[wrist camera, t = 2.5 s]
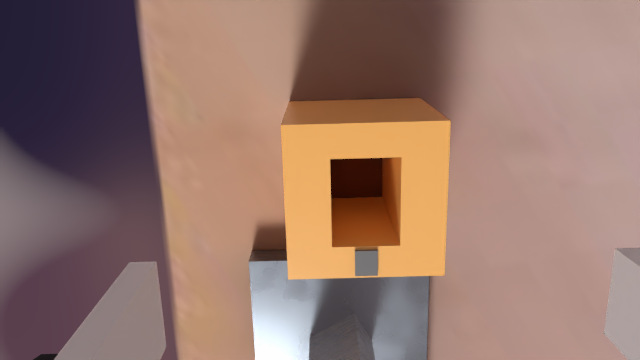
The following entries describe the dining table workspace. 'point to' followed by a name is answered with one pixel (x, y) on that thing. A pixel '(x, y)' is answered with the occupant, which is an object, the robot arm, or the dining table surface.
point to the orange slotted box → (366, 212)
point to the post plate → (335, 314)
